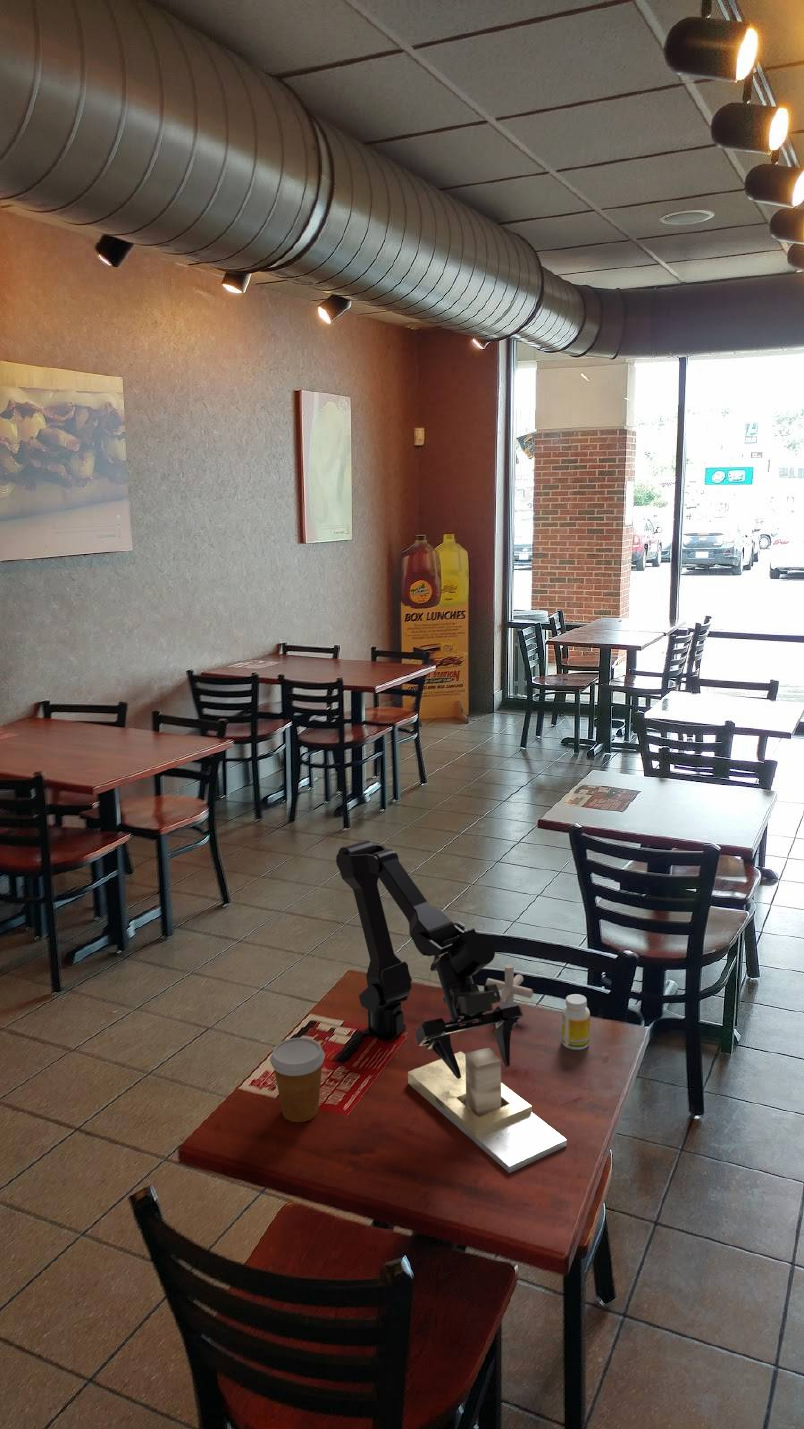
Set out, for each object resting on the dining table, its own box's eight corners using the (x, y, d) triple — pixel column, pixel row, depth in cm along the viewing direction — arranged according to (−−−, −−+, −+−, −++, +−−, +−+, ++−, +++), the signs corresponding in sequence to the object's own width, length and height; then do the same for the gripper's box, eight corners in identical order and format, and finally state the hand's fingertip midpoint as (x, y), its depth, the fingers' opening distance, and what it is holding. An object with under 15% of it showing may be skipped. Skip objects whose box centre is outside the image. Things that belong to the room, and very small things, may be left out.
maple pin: (466, 1109, 175) (465, 1052, 173) (489, 1102, 176) (489, 1047, 174) (477, 1123, 171) (476, 1066, 168) (501, 1117, 172) (500, 1060, 170)
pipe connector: (520, 1027, 201) (520, 981, 199) (477, 1014, 206) (476, 970, 204) (541, 1005, 209) (541, 961, 207) (498, 994, 215) (498, 951, 212)
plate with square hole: (408, 1083, 183) (407, 1071, 182) (461, 1062, 189) (461, 1051, 189) (509, 1173, 158) (509, 1159, 158) (566, 1145, 164) (566, 1132, 164)
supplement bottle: (556, 1042, 195) (556, 998, 193) (574, 1033, 198) (574, 989, 196) (577, 1054, 191) (577, 1008, 189) (595, 1043, 194) (595, 999, 192)
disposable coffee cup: (264, 1122, 173) (260, 1060, 170) (288, 1091, 182) (285, 1032, 179) (313, 1132, 170) (310, 1069, 167) (336, 1101, 178) (333, 1040, 176)
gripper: (420, 980, 169) (446, 1072, 162) (518, 960, 176) (548, 1048, 168) (405, 1001, 178) (429, 1089, 171) (499, 981, 185) (526, 1065, 177)
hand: (483, 1072), depth 171 cm, fingers open, 9 cm apart
